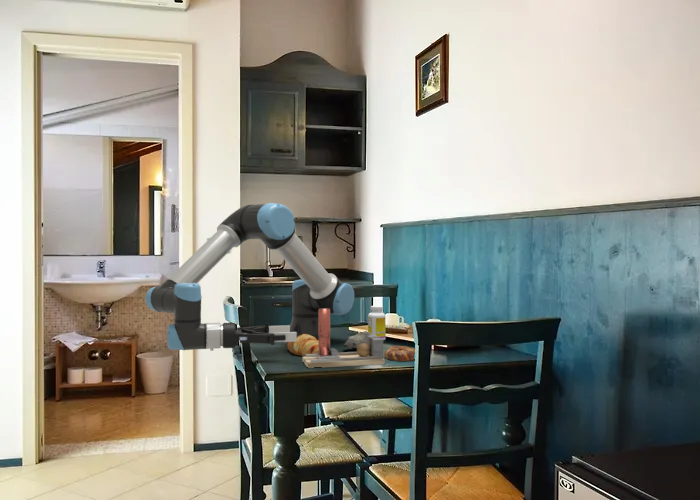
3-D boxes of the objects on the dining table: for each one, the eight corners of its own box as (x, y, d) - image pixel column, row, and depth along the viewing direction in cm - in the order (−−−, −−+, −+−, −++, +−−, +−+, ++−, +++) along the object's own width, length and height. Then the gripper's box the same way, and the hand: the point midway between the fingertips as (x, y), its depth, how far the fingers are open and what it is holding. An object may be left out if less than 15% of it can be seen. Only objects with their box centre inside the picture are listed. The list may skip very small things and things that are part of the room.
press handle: (315, 356, 188) (315, 307, 188) (334, 355, 190) (334, 307, 189) (320, 360, 181) (320, 310, 181) (339, 359, 183) (339, 310, 182)
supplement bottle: (388, 339, 229) (388, 305, 229) (381, 342, 224) (381, 307, 223) (372, 337, 232) (372, 305, 232) (365, 340, 227) (365, 306, 226)
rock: (353, 354, 200) (353, 335, 200) (337, 351, 206) (337, 332, 206) (383, 350, 208) (382, 331, 208) (366, 347, 215) (366, 328, 215)
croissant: (332, 368, 195) (341, 345, 198) (311, 357, 189) (321, 334, 191) (293, 357, 211) (302, 335, 213) (272, 346, 205) (281, 325, 207)
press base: (302, 361, 189) (302, 337, 189) (375, 357, 195) (375, 334, 194) (308, 368, 179) (308, 343, 179) (384, 364, 185) (384, 339, 185)
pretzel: (375, 357, 196) (376, 346, 196) (401, 353, 202) (401, 343, 202) (400, 364, 186) (400, 352, 186) (425, 359, 193) (425, 348, 193)
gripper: (220, 341, 190) (287, 338, 195) (223, 356, 165) (299, 353, 171) (220, 317, 189) (287, 315, 195) (223, 329, 165) (299, 326, 170)
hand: (293, 333), depth 183 cm, fingers open, 13 cm apart
